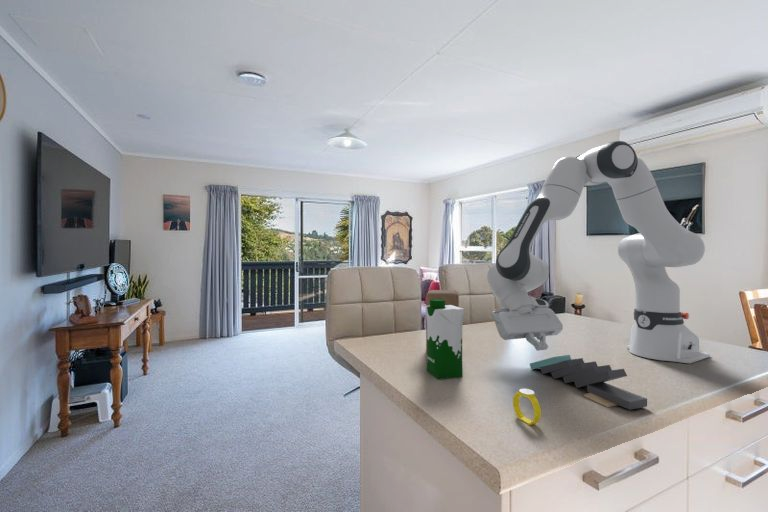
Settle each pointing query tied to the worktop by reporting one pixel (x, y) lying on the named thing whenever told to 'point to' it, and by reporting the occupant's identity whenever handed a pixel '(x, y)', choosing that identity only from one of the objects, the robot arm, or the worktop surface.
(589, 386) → the domino
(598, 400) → the coaster
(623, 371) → the domino
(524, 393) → the watch
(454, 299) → the block
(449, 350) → the milk carton
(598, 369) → the domino
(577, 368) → the domino
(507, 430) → the worktop surface
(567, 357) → the domino
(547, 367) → the domino
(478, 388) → the worktop surface
